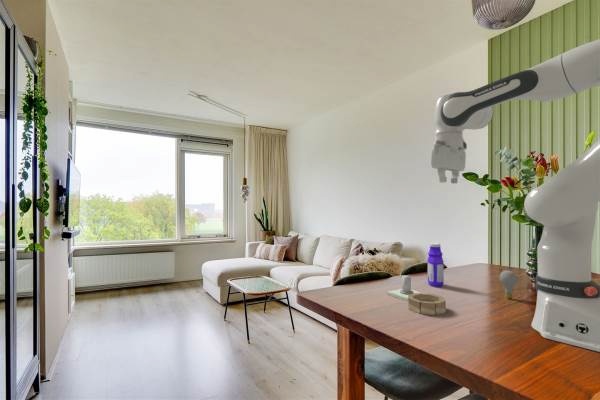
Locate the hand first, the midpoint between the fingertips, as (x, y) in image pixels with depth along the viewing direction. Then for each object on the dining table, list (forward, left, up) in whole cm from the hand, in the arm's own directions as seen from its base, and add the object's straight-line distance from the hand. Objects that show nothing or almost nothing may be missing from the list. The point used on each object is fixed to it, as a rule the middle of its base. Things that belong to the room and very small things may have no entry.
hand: (448, 182), depth 113 cm
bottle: (+18, -15, -41) cm, 48 cm away
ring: (-1, +13, -41) cm, 43 cm away
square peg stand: (+13, +7, -41) cm, 44 cm away
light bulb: (-8, -21, -41) cm, 47 cm away
